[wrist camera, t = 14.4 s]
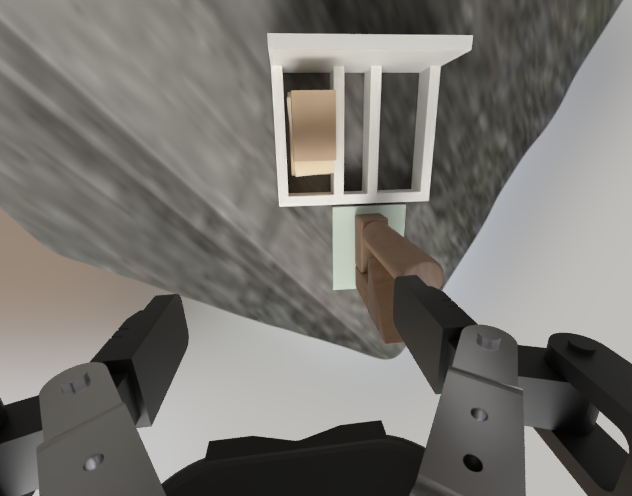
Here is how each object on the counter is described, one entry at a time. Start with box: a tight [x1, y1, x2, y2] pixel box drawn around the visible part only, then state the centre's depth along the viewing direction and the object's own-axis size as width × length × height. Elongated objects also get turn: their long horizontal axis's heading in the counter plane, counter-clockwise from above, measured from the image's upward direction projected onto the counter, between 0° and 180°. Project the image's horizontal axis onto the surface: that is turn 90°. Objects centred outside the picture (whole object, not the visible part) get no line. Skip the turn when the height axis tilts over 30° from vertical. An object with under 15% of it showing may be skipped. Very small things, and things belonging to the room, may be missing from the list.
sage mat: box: [332, 204, 406, 290], centre depth 43 cm, size 12×10×1 cm
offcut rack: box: [267, 33, 473, 207], centre depth 35 cm, size 16×19×9 cm
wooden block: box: [355, 213, 444, 345], centre depth 35 cm, size 4×11×18 cm, turn 3°
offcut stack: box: [287, 90, 336, 177], centre depth 34 cm, size 9×5×9 cm, turn 1°
